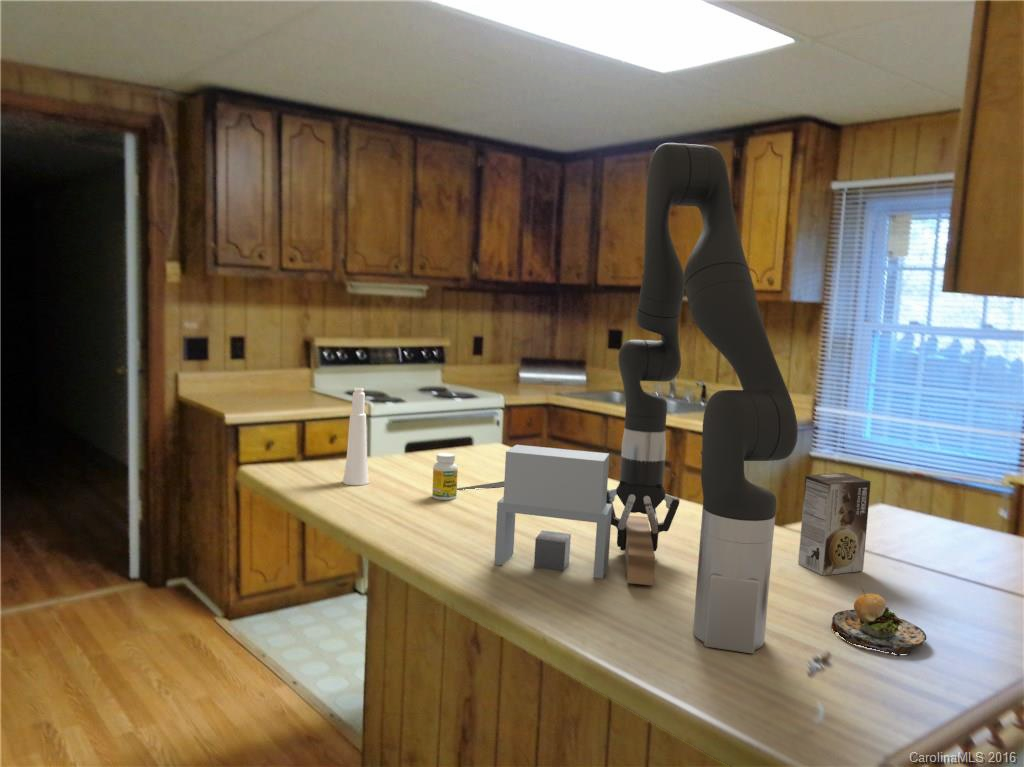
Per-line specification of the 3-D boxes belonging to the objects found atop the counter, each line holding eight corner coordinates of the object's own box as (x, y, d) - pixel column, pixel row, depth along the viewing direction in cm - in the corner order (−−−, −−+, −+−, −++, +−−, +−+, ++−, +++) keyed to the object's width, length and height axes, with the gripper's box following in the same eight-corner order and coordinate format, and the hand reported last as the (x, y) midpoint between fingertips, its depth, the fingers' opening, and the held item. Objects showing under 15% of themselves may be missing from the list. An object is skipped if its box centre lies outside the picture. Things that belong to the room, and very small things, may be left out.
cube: (563, 572, 126) (565, 542, 126) (533, 568, 127) (535, 538, 127) (569, 562, 131) (570, 533, 130) (540, 558, 132) (541, 530, 132)
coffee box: (836, 560, 140) (844, 472, 138) (864, 572, 134) (873, 480, 132) (795, 563, 136) (804, 473, 135) (822, 576, 130) (831, 482, 129)
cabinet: (602, 578, 124) (610, 461, 122) (494, 564, 128) (499, 451, 126) (608, 565, 130) (615, 454, 128) (505, 551, 135) (510, 444, 133)
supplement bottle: (446, 493, 174) (448, 451, 173) (461, 498, 170) (463, 455, 169) (427, 496, 170) (428, 453, 169) (442, 501, 166) (444, 457, 165)
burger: (924, 666, 98) (930, 609, 98) (825, 642, 104) (830, 589, 103) (926, 633, 109) (931, 582, 108) (836, 613, 115) (840, 564, 114)
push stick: (653, 585, 120) (655, 557, 120) (627, 582, 120) (628, 554, 120) (645, 540, 144) (647, 517, 143) (624, 539, 144) (625, 515, 144)
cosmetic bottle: (346, 479, 182) (349, 386, 180) (371, 480, 182) (374, 387, 180) (339, 484, 176) (342, 389, 174) (365, 486, 176) (369, 390, 174)
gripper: (599, 454, 132) (593, 552, 134) (684, 462, 129) (677, 562, 131) (605, 448, 140) (599, 540, 141) (685, 455, 136) (679, 550, 138)
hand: (636, 550), depth 136 cm, fingers closed on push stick, 4 cm apart
